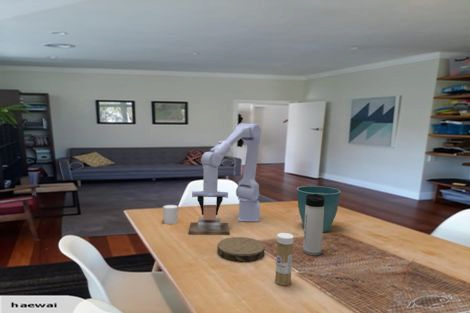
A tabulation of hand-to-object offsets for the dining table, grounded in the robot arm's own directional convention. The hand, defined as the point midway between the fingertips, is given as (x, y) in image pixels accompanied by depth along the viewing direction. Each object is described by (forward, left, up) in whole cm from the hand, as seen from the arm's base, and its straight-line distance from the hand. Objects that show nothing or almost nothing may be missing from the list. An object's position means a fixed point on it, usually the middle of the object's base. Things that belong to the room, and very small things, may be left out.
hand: (209, 214), depth 133 cm
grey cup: (+17, -10, -7) cm, 21 cm away
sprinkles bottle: (-21, +45, -7) cm, 50 cm away
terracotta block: (0, 0, -2) cm, 2 cm away
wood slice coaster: (-11, +24, -7) cm, 27 cm away
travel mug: (-36, +23, -7) cm, 43 cm away
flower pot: (-46, -4, -7) cm, 47 cm away
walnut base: (0, 0, -6) cm, 6 cm away
